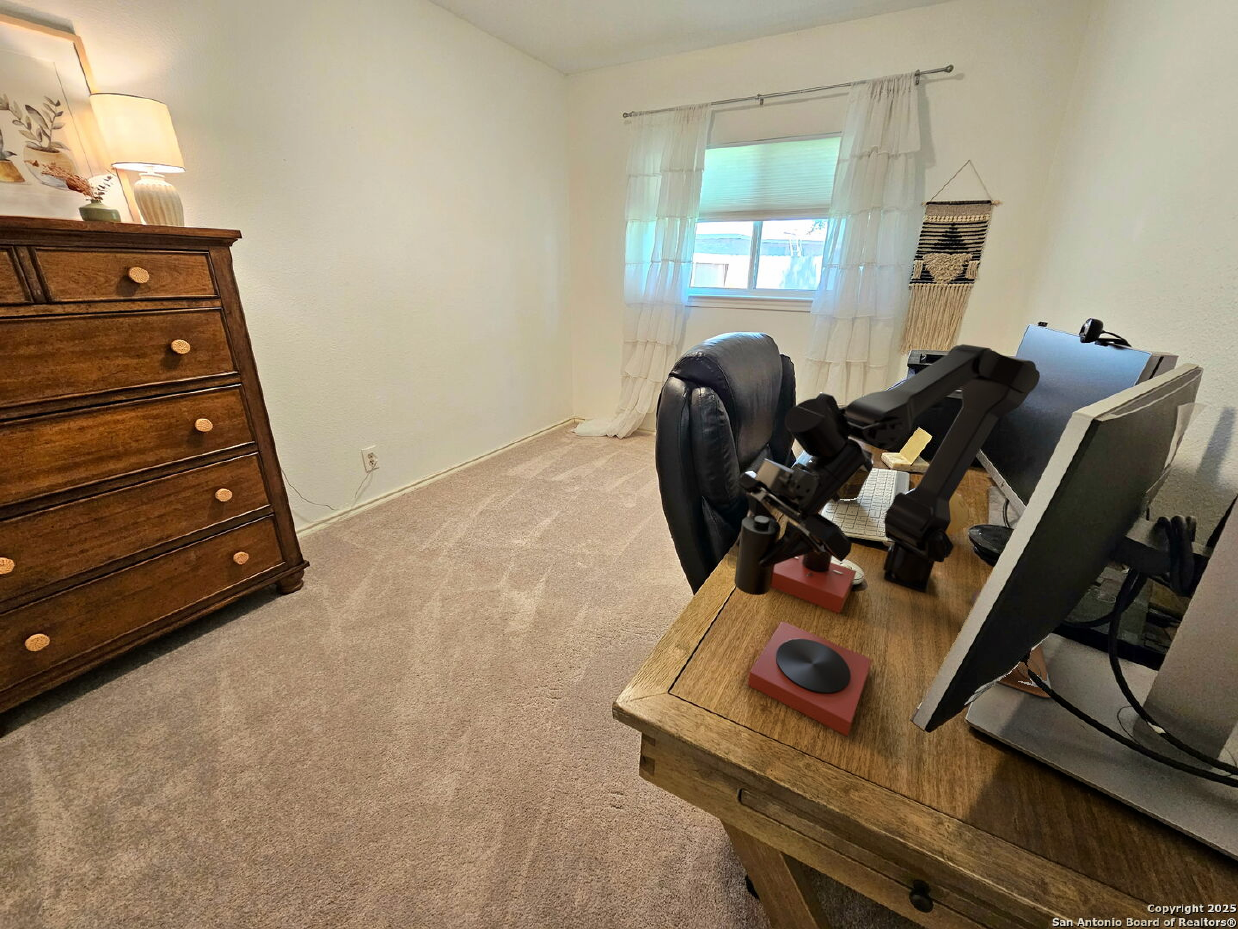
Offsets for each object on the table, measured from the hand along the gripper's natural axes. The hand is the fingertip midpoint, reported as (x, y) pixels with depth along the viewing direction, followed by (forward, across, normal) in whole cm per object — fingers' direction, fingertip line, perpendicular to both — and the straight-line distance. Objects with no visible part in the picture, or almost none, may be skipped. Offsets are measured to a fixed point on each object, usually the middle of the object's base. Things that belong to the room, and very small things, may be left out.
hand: (748, 556), depth 68 cm
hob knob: (-7, -5, +19) cm, 21 cm away
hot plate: (+6, +12, +10) cm, 17 cm away
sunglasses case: (-15, +17, +32) cm, 40 cm away
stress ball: (-29, -10, +46) cm, 55 cm away
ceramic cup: (-24, -28, +41) cm, 55 cm away
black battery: (+3, 0, +5) cm, 5 cm away
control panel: (-3, -4, +20) cm, 21 cm away
